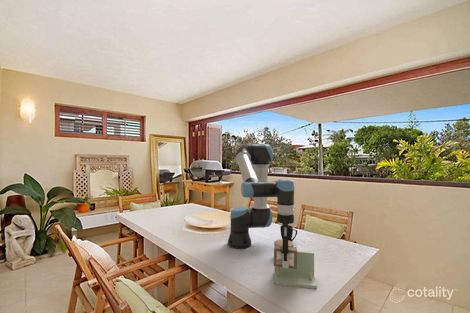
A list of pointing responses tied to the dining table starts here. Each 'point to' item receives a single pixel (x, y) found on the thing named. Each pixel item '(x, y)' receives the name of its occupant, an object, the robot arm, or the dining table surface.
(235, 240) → the robot arm
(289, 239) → the mug
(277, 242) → the lidded jar
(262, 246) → the dining table surface
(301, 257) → the ledge
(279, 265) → the brown tapered block
